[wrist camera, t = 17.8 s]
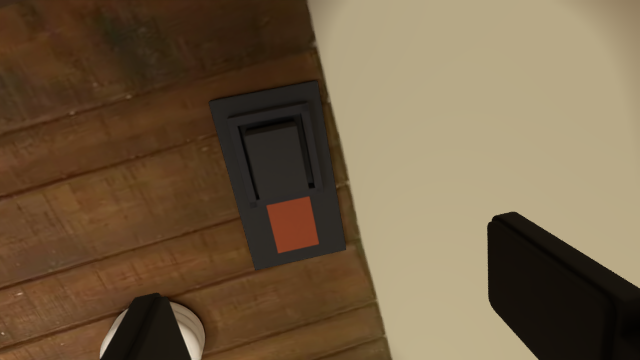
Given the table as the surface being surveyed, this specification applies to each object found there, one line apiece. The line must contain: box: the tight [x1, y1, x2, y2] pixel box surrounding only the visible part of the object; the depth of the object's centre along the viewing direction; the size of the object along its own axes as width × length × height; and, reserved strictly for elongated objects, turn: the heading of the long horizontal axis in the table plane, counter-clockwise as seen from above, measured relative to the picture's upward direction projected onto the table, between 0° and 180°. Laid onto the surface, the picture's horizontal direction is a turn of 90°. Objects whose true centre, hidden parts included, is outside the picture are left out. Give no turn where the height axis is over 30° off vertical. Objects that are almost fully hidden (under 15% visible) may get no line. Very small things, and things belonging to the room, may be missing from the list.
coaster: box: [100, 302, 205, 360], centre depth 39 cm, size 10×10×4 cm
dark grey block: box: [244, 120, 309, 201], centre depth 33 cm, size 6×4×4 cm
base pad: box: [209, 80, 346, 270], centre depth 35 cm, size 18×10×2 cm, turn 10°
